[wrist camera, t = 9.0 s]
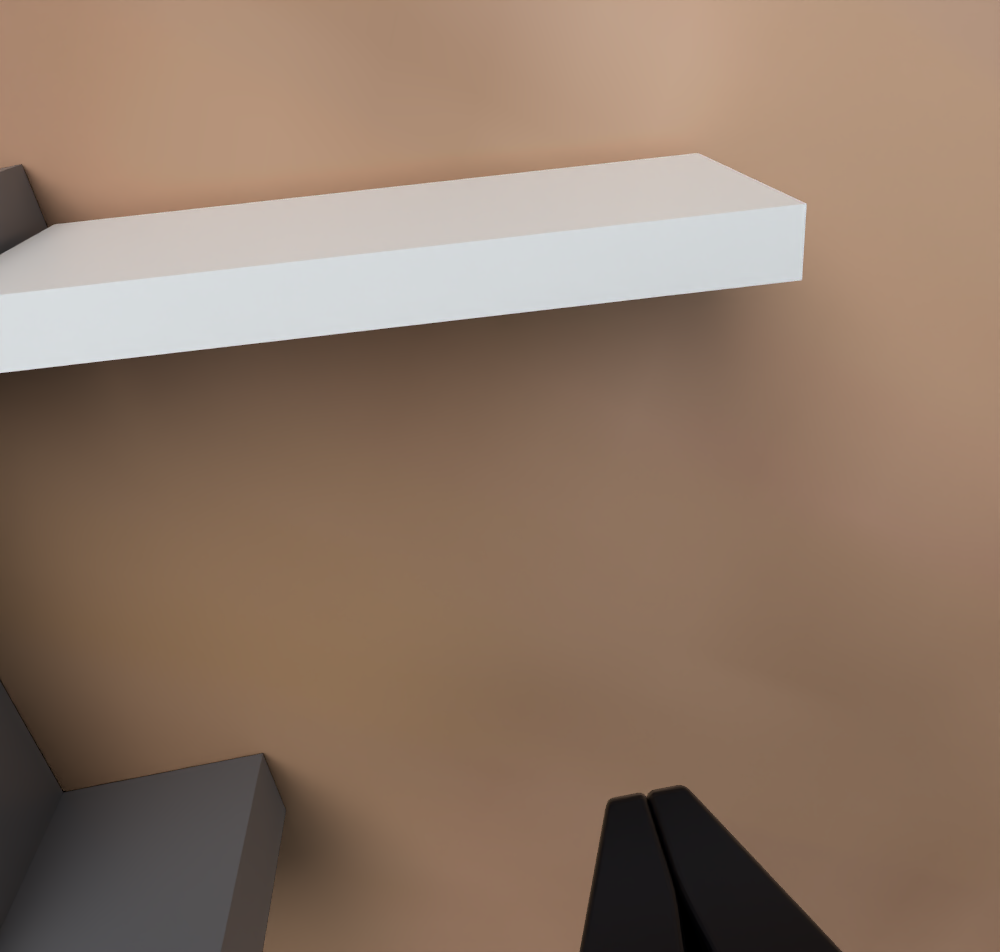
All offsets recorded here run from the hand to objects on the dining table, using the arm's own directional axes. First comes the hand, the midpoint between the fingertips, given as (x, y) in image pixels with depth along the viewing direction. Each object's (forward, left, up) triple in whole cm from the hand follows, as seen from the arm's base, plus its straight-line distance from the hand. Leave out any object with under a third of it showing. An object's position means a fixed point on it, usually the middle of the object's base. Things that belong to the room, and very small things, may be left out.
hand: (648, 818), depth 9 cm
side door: (+5, +2, -10) cm, 11 cm away
